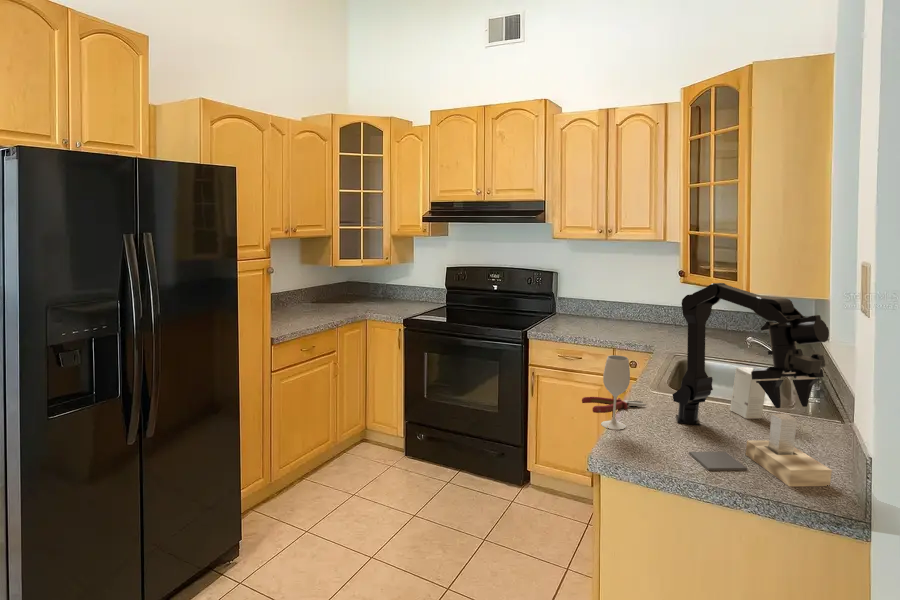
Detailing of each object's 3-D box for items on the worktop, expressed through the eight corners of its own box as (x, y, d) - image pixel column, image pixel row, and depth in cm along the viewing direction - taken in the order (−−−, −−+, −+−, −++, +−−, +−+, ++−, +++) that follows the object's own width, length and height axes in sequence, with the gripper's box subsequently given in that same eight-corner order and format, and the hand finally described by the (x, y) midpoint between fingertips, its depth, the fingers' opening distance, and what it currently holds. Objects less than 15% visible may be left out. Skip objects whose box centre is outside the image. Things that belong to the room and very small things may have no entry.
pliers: (652, 412, 185) (653, 405, 185) (593, 414, 182) (594, 407, 182) (636, 401, 196) (636, 394, 196) (580, 403, 194) (580, 395, 193)
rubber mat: (689, 453, 152) (689, 451, 152) (725, 453, 152) (725, 451, 152) (708, 470, 142) (708, 468, 142) (746, 470, 143) (747, 467, 142)
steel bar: (766, 462, 148) (771, 413, 146) (781, 461, 148) (786, 413, 146) (776, 468, 144) (781, 419, 142) (791, 468, 144) (797, 419, 142)
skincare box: (729, 410, 187) (733, 366, 185) (746, 409, 188) (750, 366, 186) (746, 419, 179) (751, 373, 177) (763, 418, 180) (768, 373, 178)
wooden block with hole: (745, 454, 152) (747, 440, 151) (781, 454, 153) (783, 440, 152) (789, 486, 134) (791, 470, 134) (829, 486, 135) (831, 470, 134)
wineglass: (600, 419, 176) (604, 353, 173) (626, 422, 174) (631, 355, 171) (599, 428, 169) (604, 359, 166) (626, 431, 167) (631, 361, 164)
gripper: (784, 343, 137) (793, 409, 135) (839, 343, 144) (848, 406, 141) (746, 347, 147) (753, 408, 145) (799, 347, 154) (807, 405, 151)
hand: (791, 407), depth 145 cm, fingers open, 9 cm apart
